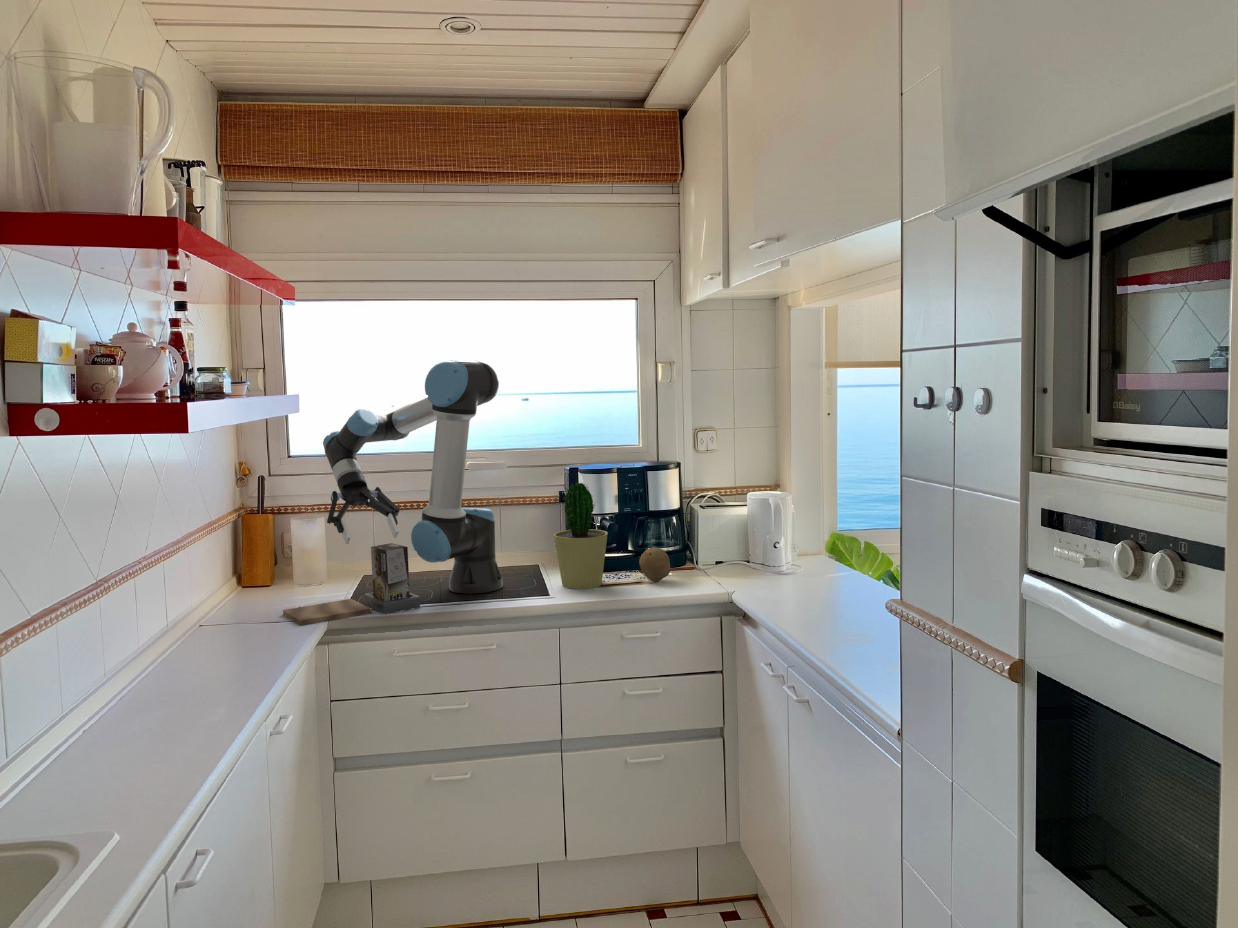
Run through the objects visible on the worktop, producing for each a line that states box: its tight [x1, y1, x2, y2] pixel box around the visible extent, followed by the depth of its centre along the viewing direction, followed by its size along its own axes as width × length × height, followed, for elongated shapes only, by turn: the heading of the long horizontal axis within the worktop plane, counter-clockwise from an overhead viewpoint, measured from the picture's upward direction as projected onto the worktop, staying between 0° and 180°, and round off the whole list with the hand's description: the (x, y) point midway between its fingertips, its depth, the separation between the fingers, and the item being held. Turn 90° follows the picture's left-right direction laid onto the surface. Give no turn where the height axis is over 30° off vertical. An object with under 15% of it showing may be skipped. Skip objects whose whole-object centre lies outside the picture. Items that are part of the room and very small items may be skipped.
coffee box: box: [370, 542, 411, 601], centre depth 243 cm, size 9×6×16 cm
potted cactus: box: [553, 482, 609, 590], centre depth 263 cm, size 15×15×30 cm
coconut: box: [638, 546, 671, 583], centre depth 266 cm, size 9×9×10 cm
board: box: [282, 598, 372, 626], centre depth 237 cm, size 18×14×1 cm
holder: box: [363, 591, 421, 615], centre depth 244 cm, size 10×13×3 cm
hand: (372, 537), depth 251 cm, fingers open, 13 cm apart
